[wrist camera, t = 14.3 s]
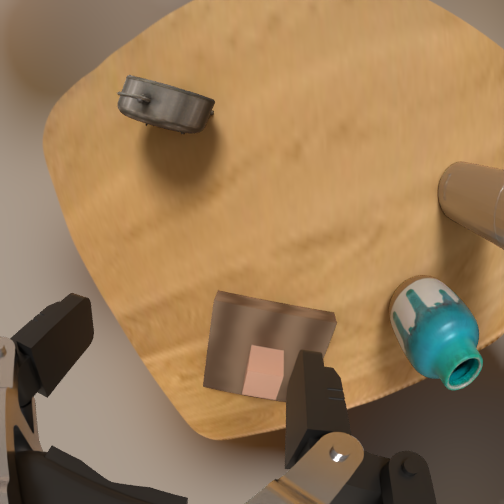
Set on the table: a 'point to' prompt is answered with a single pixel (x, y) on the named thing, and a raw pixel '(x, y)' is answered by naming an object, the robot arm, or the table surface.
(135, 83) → the alarm clock
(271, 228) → the table surface
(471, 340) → the vase
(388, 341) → the table surface
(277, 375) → the pink block
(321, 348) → the walnut base
